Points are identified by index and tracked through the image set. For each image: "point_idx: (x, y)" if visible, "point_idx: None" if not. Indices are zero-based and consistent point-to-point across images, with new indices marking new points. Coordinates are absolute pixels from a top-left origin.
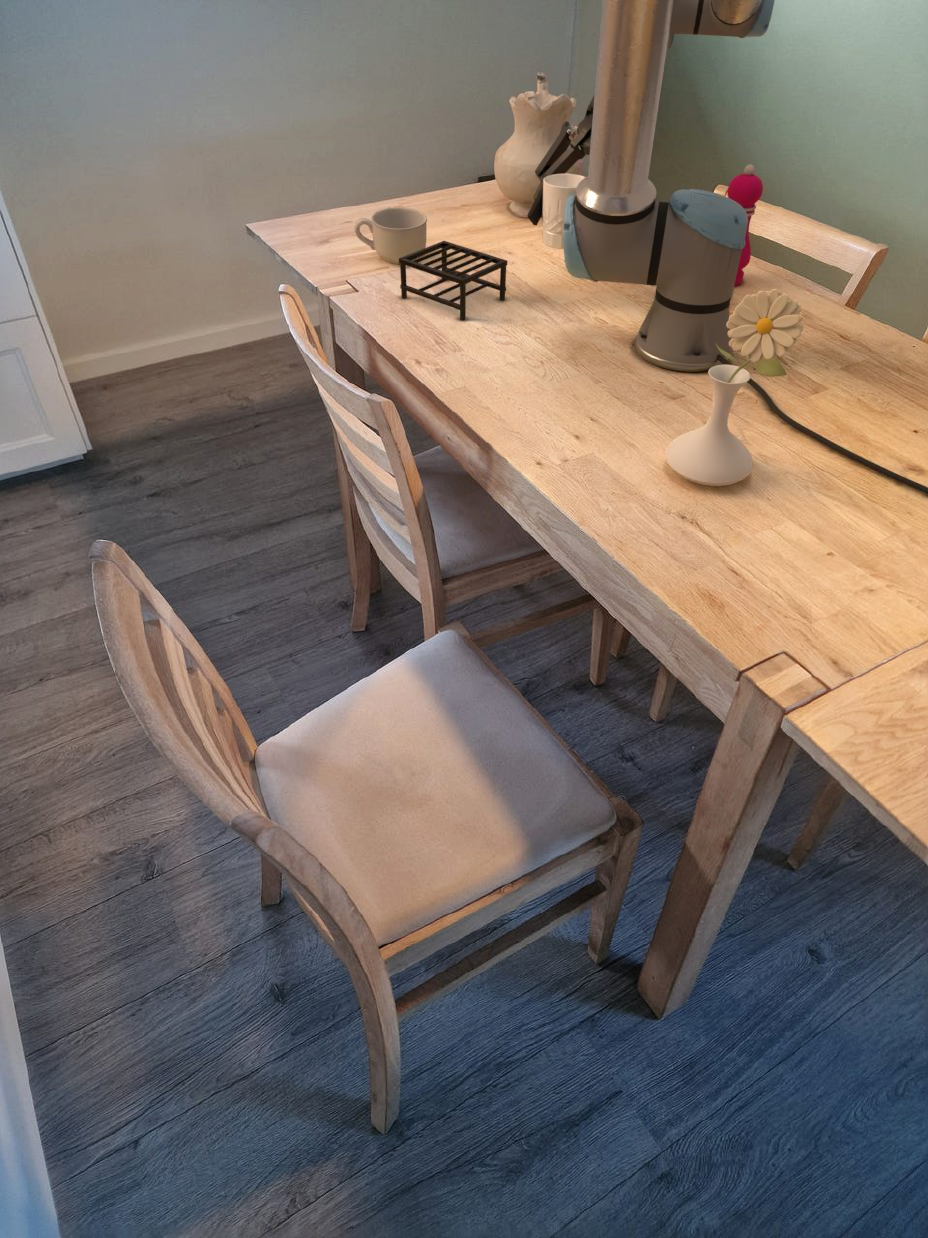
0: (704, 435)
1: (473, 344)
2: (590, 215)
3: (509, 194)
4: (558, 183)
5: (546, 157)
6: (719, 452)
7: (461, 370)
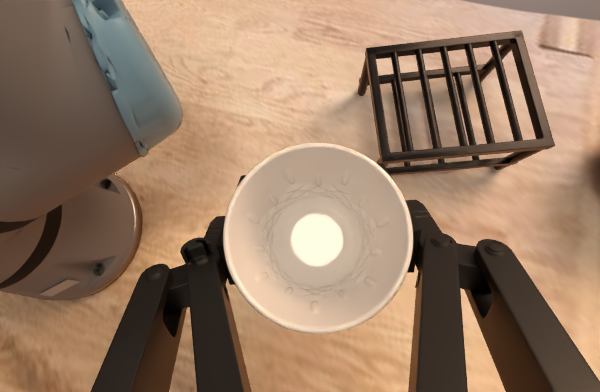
0: None
1: (296, 56)
2: None
3: None
4: (387, 272)
5: (530, 305)
6: None
7: (259, 7)
